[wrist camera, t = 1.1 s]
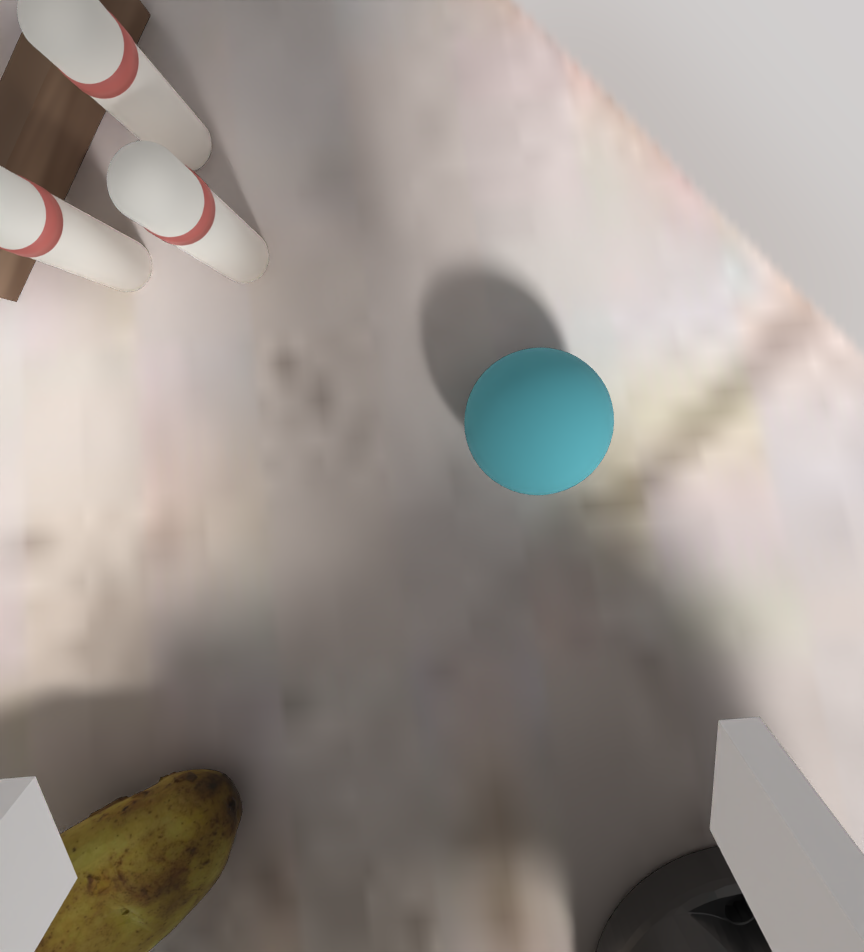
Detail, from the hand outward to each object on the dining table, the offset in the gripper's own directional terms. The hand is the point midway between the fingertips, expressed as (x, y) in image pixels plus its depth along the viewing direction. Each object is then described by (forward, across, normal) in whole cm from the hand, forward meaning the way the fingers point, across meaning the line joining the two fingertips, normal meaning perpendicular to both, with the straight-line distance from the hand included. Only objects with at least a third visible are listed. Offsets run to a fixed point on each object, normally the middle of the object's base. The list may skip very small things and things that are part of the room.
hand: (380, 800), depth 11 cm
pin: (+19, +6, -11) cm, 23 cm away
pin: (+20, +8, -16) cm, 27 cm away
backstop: (+21, +14, -16) cm, 30 cm away
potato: (+14, +15, +16) cm, 26 cm away
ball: (+14, -6, -4) cm, 16 cm away
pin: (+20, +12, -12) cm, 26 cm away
